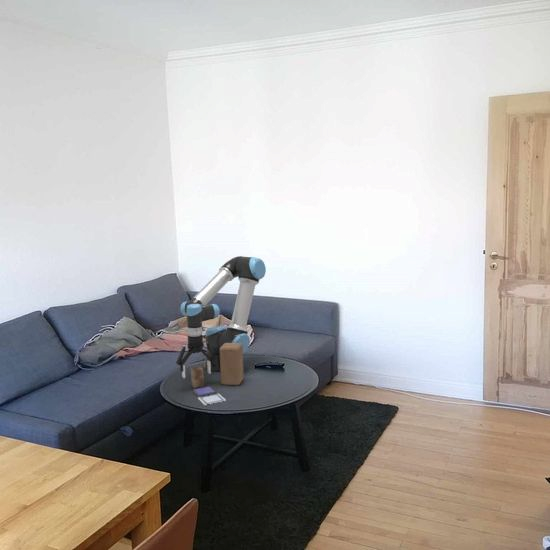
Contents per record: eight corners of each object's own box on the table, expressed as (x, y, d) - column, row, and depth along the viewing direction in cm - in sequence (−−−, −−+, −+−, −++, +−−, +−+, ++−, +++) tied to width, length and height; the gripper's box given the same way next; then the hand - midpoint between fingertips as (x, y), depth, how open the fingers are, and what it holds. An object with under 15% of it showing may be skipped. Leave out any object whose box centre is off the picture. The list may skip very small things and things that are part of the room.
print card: (218, 394, 286) (218, 393, 286) (226, 400, 277) (226, 399, 277) (197, 398, 281) (197, 397, 281) (204, 405, 272) (204, 404, 272)
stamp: (200, 384, 300) (199, 365, 299) (204, 387, 296) (203, 368, 294) (191, 386, 298) (190, 367, 296) (194, 389, 294) (193, 370, 292)
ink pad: (209, 388, 294) (209, 386, 294) (216, 394, 286) (216, 391, 286) (193, 391, 290) (192, 389, 290) (198, 397, 282) (198, 395, 282)
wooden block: (239, 385, 296) (237, 348, 293) (220, 385, 298) (218, 347, 295) (244, 379, 306) (242, 342, 303) (226, 378, 308) (224, 342, 305)
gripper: (173, 339, 283) (175, 381, 287) (220, 333, 294) (222, 373, 298) (168, 336, 290) (170, 376, 293) (215, 330, 301) (216, 369, 304)
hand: (196, 375), depth 295 cm, fingers open, 13 cm apart
